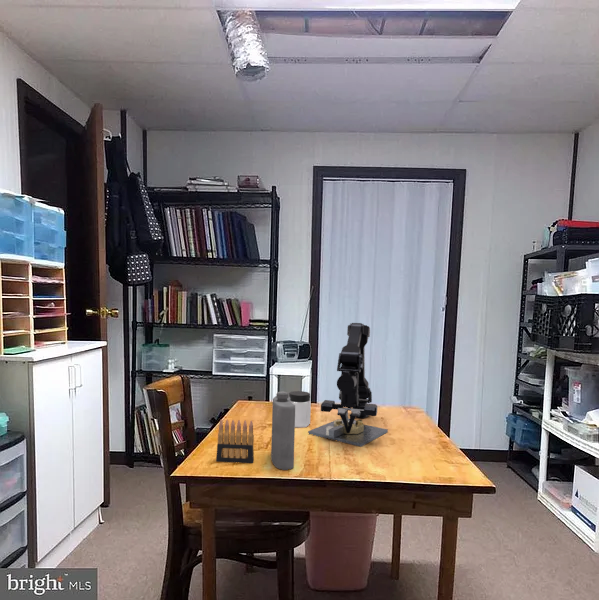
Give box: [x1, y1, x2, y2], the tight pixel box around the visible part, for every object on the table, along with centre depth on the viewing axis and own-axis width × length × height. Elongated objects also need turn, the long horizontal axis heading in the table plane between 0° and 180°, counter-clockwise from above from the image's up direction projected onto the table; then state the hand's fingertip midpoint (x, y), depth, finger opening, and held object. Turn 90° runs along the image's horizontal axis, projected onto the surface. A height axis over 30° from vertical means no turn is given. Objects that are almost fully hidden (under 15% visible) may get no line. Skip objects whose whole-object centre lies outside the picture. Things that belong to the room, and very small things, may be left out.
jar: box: [288, 390, 312, 428], centre depth 164 cm, size 9×8×12 cm
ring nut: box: [329, 418, 365, 438], centre depth 152 cm, size 17×10×3 cm, turn 144°
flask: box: [270, 390, 296, 471], centre depth 126 cm, size 15×6×20 cm, turn 9°
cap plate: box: [307, 417, 389, 448], centre depth 155 cm, size 21×21×5 cm
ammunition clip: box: [215, 419, 255, 464], centre depth 124 cm, size 11×2×12 cm, turn 88°
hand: (348, 433), depth 146 cm, fingers closed
